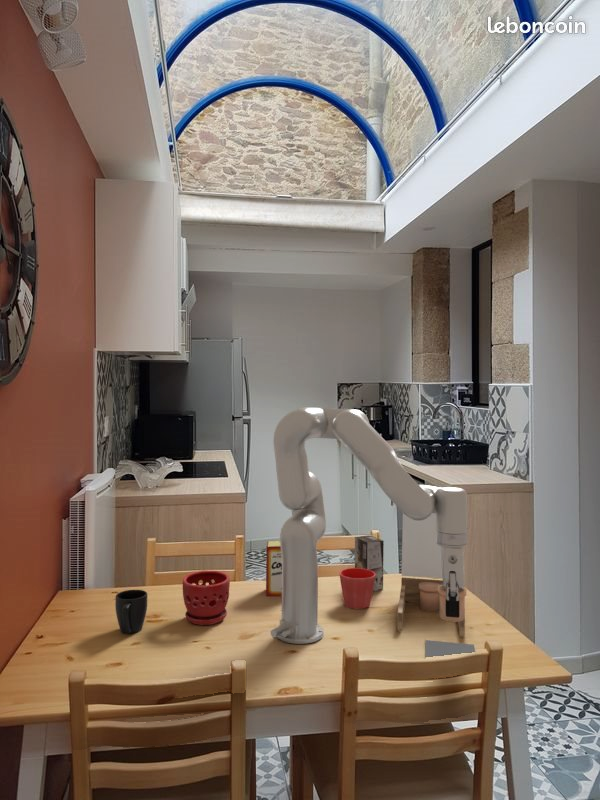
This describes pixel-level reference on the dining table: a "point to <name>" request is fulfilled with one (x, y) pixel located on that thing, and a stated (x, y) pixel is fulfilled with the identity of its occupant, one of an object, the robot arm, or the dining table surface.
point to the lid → (420, 548)
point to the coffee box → (370, 557)
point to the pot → (429, 597)
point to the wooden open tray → (417, 599)
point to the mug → (131, 610)
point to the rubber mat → (446, 648)
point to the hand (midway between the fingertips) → (451, 610)
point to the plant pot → (206, 597)
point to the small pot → (443, 596)
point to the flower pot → (357, 587)
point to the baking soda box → (273, 569)
